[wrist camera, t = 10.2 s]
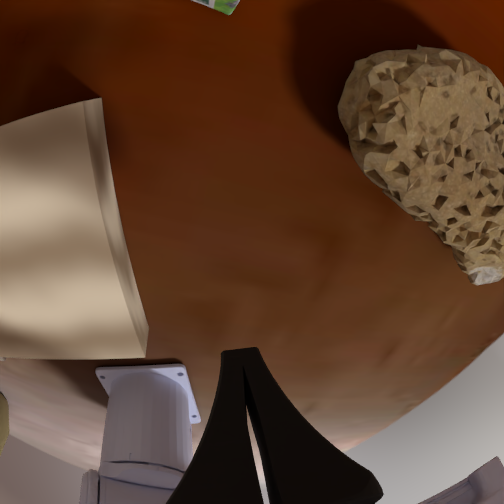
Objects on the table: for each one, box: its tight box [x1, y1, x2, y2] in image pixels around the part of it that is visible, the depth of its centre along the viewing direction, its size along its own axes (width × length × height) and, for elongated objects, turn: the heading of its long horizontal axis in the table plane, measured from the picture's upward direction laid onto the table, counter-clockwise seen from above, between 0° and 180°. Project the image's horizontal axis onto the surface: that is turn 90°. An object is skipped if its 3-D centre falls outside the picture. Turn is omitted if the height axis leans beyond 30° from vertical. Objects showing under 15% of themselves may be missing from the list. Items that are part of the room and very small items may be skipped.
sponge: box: [338, 45, 504, 285], centre depth 16 cm, size 13×8×20 cm
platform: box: [0, 98, 149, 359], centre depth 16 cm, size 16×13×3 cm
